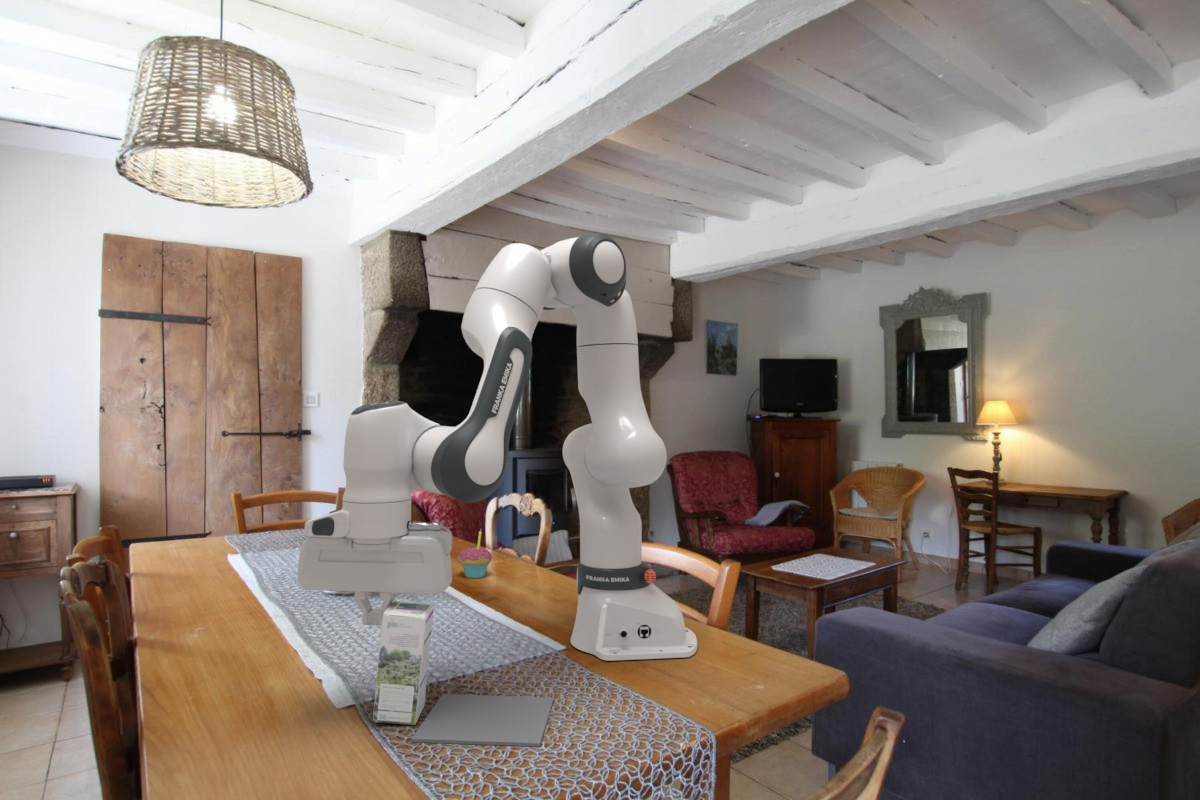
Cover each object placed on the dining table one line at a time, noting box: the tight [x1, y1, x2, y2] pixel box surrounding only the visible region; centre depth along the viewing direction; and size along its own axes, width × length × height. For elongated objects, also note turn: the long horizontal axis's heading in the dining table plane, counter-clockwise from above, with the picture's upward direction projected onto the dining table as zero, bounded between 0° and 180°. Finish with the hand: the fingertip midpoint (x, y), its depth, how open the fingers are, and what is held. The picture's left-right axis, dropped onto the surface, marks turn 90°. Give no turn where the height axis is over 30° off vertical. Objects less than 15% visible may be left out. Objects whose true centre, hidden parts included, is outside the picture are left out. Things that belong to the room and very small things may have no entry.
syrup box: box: [372, 600, 435, 726], centre depth 88 cm, size 6×6×14 cm
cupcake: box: [456, 529, 493, 579], centre depth 164 cm, size 9×8×12 cm
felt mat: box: [411, 693, 555, 748], centre depth 87 cm, size 16×13×1 cm
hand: (374, 624), depth 88 cm, fingers closed
